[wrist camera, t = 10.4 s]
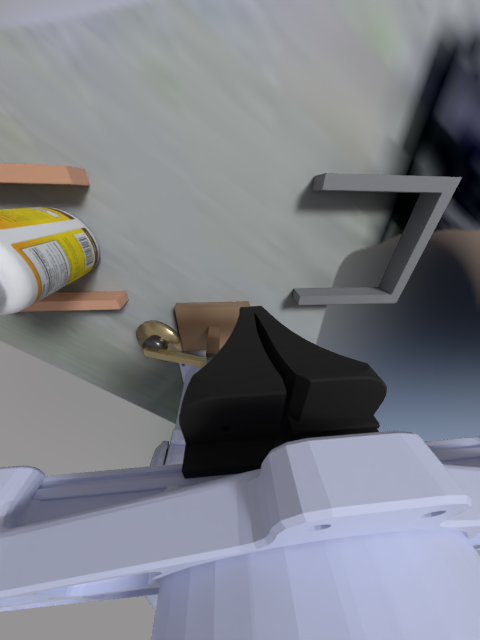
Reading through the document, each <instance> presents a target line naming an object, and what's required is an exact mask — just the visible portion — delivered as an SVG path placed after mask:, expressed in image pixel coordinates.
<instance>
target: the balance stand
mask: <svg viewBox="0 0 480 640" xmlns="http://www.w3.org/2000/svg"><path fill="white" fill-rule="evenodd" d="M241 307H250V304H249V302H208V303H177V304H176V307H175V313H176V318H177V323H178V328H179V333H180V338H181V341H182V345H183V351H201V350H206V357H207V356H208V355H210V354H215V355H216V354H217V353H218V352H219V351H220V350H221V348H222V347H223V346H224V344H225V343H226V341H227V340H228V338H229V337H230V335H231V333H232V331H233V329H234V327H235V325H236V323H237V320H238V317H239V309H240V308H241Z"/></svg>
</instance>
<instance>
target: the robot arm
mask: <svg viewBox="0 0 480 640" xmlns="http://www.w3.org/2000/svg"><path fill="white" fill-rule="evenodd" d="M179 364H180V369H181V373H182V378H183V382H184V387H183V391H182V396H181V401H180V406H179V411H178V415H177V420H176V425H175V430H173V432H172V437H171V442H170V445H169V441H163V442H162V444H161V445H159V446H158V447H157V448H156V449H155V452H154V455H153V457H152V461H151V464H150V467H139V468H129V469H117V470H106V471H95V472H84V473H73V474H62V475H51V476H45V474H44V473H43V472H42V471H41V470H40V469H38V468H35V467H31V466H13V467H2V468H0V612H3V611H12V610H20V609H28V608H37V607H46V606H55V605H64V604H73V603H83V602H92V601H102V600H111V599H120V598H129V597H139V596H145V597H146V599H147V600H148V601H149V603H150V604H151V605H152V607H153V608H154V610H155V618H154V624H153V630H152V636H151V640H480V556H479V554H478V553H477V552H476V550H480V437H470V438H459V439H449V440H448V439H447V440H437V441H426V442H424V441H423V440H422V439H421V438H420V437H419V436H418V435H417V434H415V433H412V432H405V431H385V432H379V431H378V430H377V428H379V423H378V421H377V420H376V418H375V417H374V414H375V412H376V411H377V409H378V408H379V406H380V405H381V403H382V402H383V400H384V398H385V396H386V392H387V391H386V390H387V387H386V385H385V383H384V382H383V380H382V379H381V378H380V377H379V376H378V375H377V374H376V373H375V371H374V370H373V369H372V368H371V367H370V366H369V365H368V364H367V363H364V362H360V361H357V360H354V359H351V358H348V357H344V356H342V355H338V354H336V353H333V352H331V351H329V350H326V349H324V348H321V347H319V346H317V345H315V344H313V343H311V342H309V341H307V340H305V339H304V338H302V337H300V336H299V335H297V334H295V333H294V332H292V331H291V330H289V329H288V328H287V327H285V326H284V325H282V324H281V323H280V322H279V321H277V320H276V319H275V318H274V317H273V316H272V315H271V314H269V313H268V312H267V311H266V310H265V309H264V308H263V307H262V306H251V307H241V308H240V309H239V317H238V320H237V323H236V325H235V327H234V329H233V331H232V333H231V335H230V337H229V338H228V340H227V341H226V343H225V344H224V346H223V347H222V348H221V350H220V351H219V352H218V353H217V354H216V355H215V356H214V357H213V358H212V359H211V360H210V361H209V362H208V363H207V364H206V365H205V366H204V367H203V368H201V367H196V366H191V365H186V364H181V363H179Z"/></svg>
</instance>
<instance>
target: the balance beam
mask: <svg viewBox="0 0 480 640" xmlns="http://www.w3.org/2000/svg"><path fill="white" fill-rule="evenodd" d="M136 336H137V340H138V342H139V344H140V346H141V347H142V348H143V353H144V356H146V357H151V358H156V359H159V360H162V361H171V362H176V363H181V364H186V365H191V366H196V367H201V368H203V367H204V366H205V365H206V364H207V363H208V362H209V361H210V360H211V359H212V358H213V357H214V356H215V354H210V355H208V356H207V357H201V356H196V355H191V354H185V353H181V352H182V349H183V345H182V341H181V339H180V337H179V336H178V334H177V333H176V332H175V331H174V330H173V329H172V328H171V327H169V326H168V325H166V324H164V323H162V322H159V321H146V322H144V323H143V324H142V325H140V326H139V327H138V329H137V332H136Z"/></svg>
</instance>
